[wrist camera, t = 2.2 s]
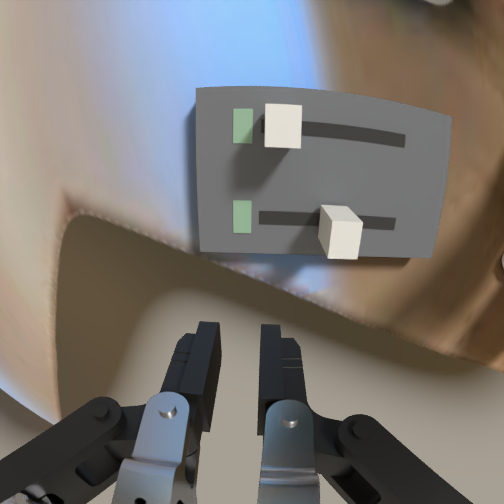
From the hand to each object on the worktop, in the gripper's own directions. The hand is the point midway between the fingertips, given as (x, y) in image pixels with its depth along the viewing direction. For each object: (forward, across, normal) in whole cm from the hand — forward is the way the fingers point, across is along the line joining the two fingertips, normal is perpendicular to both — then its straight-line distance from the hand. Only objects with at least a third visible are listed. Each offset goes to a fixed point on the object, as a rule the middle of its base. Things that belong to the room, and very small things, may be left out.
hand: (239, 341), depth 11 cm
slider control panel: (+19, -7, -4) cm, 21 cm away
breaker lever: (+16, -2, -8) cm, 18 cm away
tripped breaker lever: (+16, -7, 0) cm, 17 cm away
